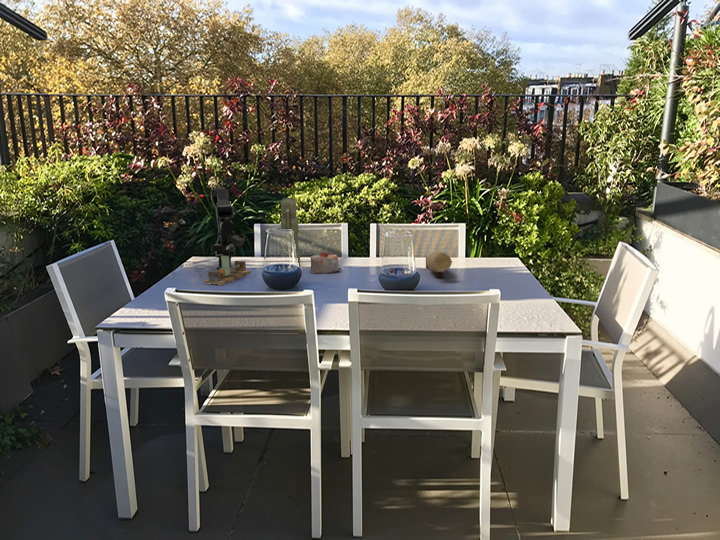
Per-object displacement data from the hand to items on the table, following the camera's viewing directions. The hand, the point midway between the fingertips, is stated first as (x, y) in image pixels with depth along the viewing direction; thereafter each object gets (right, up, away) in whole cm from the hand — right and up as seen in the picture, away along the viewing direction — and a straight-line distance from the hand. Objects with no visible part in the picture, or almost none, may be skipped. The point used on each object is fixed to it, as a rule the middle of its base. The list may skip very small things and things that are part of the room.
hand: (228, 262), depth 287 cm
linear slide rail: (0, -8, +1) cm, 8 cm away
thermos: (+28, -2, +22) cm, 36 cm away
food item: (+45, -5, +9) cm, 46 cm away
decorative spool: (+99, -6, -3) cm, 100 cm away
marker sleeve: (-1, -6, -3) cm, 7 cm away
